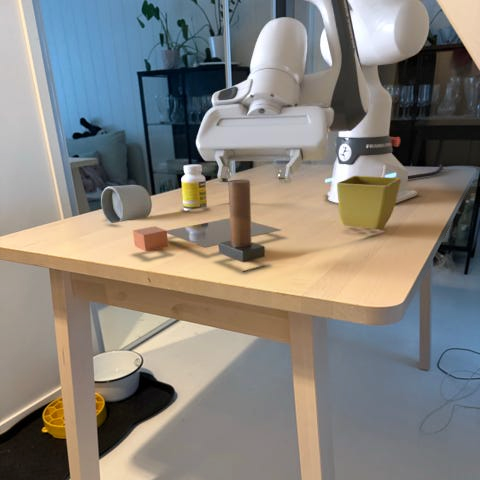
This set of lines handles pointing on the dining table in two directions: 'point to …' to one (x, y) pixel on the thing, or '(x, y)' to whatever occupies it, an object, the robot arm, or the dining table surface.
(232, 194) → the mallet with wooden handle
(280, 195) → the dining table surface
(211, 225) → the polished metal plate
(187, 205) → the supplement bottle
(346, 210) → the flower pot
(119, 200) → the ceramic mug
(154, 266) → the dining table surface
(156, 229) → the terracotta orange cube
